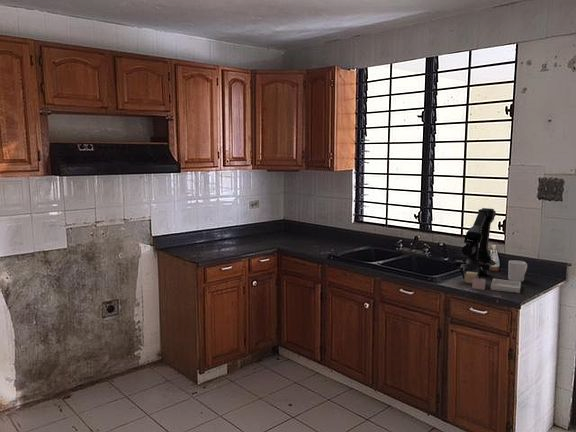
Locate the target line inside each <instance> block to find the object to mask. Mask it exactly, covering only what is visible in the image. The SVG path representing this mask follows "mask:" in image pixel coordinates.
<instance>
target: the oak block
mask: <svg viewBox="0 0 576 432" xmlns="http://www.w3.org/2000/svg"><path fill="white" fill-rule="evenodd" d="M474 278H479V275H478V273H477V272H474V271H466V272H465V277H464V283H466V284H467V283H468V284H472V282H473V279H474Z"/></svg>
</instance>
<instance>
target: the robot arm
mask: <svg viewBox="0 0 576 432" xmlns="http://www.w3.org/2000/svg"><path fill="white" fill-rule="evenodd" d="M496 214H497V211H496V210H495V209H494V208H487V207H486V208H485V207H483V208H480V209H478V211H477V215H476V218H475V220H474V222H473V225H472V226H471V227H469V228H468V229H467V231H466V232H465V237H464V240H463V243H464V244H465V245H463V247H462V248H461V254H462V255H464V256H466V260H465V262H463V260H459V259H456V260H455V261H454V263H453V267H456V268H457V269H459V270H460V272H461V275H462V279H463V280H465V274H466V272H465V268H466V269H472V270H474V269H476V268H477V271H476V273H478V278H480V279H482V276H483V277H485V276H486V277H488V276H489V274H490V272H489V271H490V270H491V267H492V265H493V259H492V257H491V252H490V250H489V242H490V241H489V240H490V231H491V224H492V223H493V221H495V217H496Z"/></svg>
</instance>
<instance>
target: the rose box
mask: <svg viewBox="0 0 576 432" xmlns="http://www.w3.org/2000/svg"><path fill="white" fill-rule="evenodd" d="M486 280H487V279H486V278H479V277H478V278H474V279H473V282H472V283H471V285H472V286H471V288H472V289H476V290H483V291H485V288H486V282H487V281H486Z"/></svg>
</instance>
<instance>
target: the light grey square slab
mask: <svg viewBox="0 0 576 432" xmlns="http://www.w3.org/2000/svg"><path fill="white" fill-rule="evenodd" d="M521 286H522V282H518V281H511V280H509V279H499V278H492V281H491V283H490V291H491V290H492V291H498V292H500V291H501V292H506V293H507V292H508V293H514V292H515V293H516V294H520V293H521V288H522V287H521Z"/></svg>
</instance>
